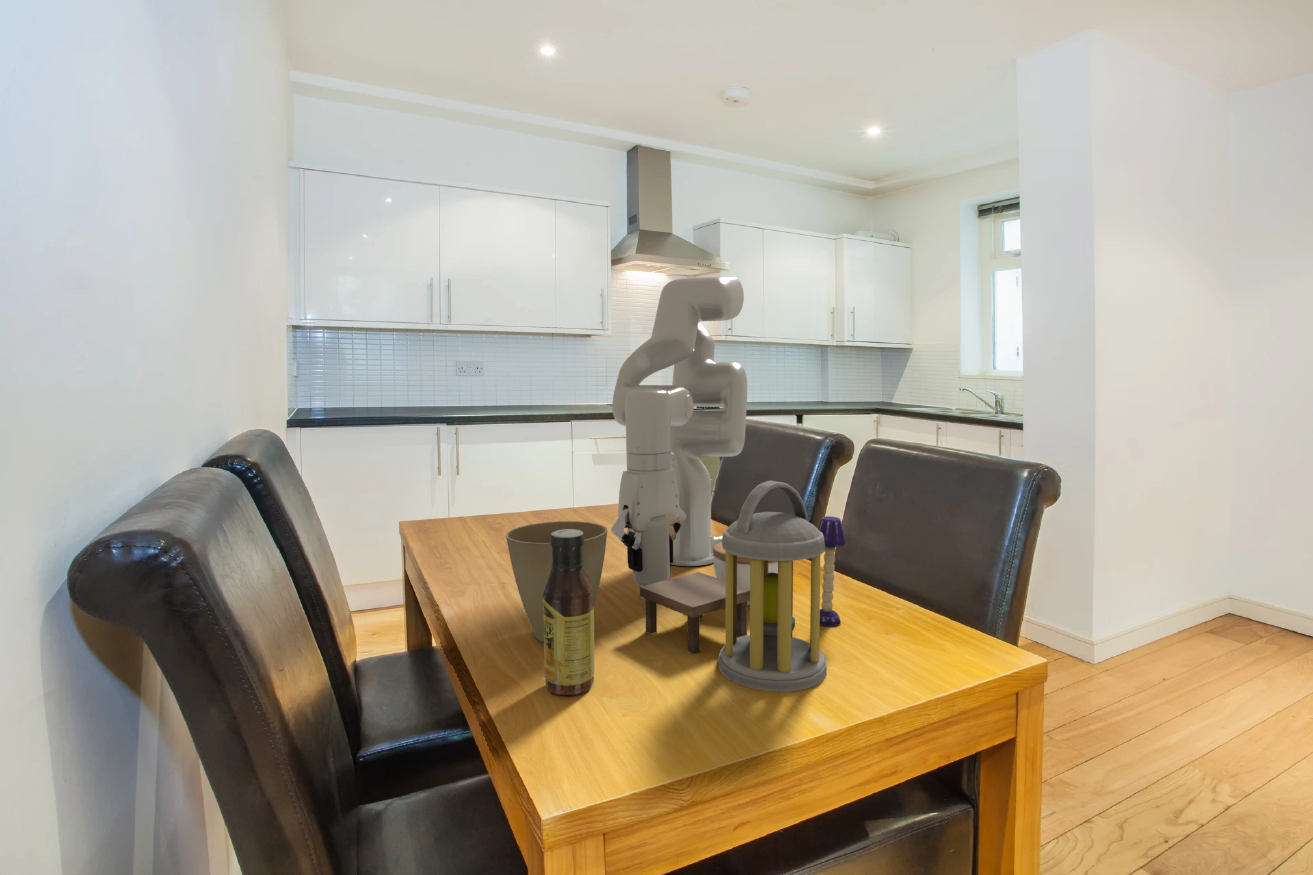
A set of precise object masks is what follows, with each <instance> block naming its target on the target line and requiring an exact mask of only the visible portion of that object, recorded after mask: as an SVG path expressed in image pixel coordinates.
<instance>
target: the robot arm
mask: <svg viewBox="0 0 1313 875" xmlns="http://www.w3.org/2000/svg"><path fill="white" fill-rule="evenodd" d="M659 296H660V297H659V300H658V304H657V310H656V314H655V319H654V323H653V327H652V331H651V332H652V333H651V337H650V338H649V339H648V340H646V341H645V342H643V343H642V344H641V345H640V346H639V347H637V348H636V349H635V350H634V351H633V352H632V353H631V354H630V355H629V356H628V357H627V358H626V359H625V361H624V362H623V364H622V365H621V367H620V369H619V371H618V374H617V379H616V383H615V386H614V391H613V396H612V401H611V402H612V404H611V405H612V415H613V418H614V419H615V421H616V423H618V425H621V426H623V427H625V448H626V449H625V450H626V454H625V455H626V470H624V471H622V474H621V479H620V484H619V492H618V494H619V495H618V509H617V510H618V511H617V516H618V518H617V520H616V521H615V522H614V524H613V525H612V527H611V528H610V531H611V533H612V534H613V535H614V536H616V537H617V538H618V540H619V541H620V542H622V543H623V546H625V547H627V548H626V549H627V557H626V558H627V566H628V569H629V570H632V571H633V570H634V571H637V572H641V571H642V570H643V565H642V549H641V548H639V545H640V542H641V538H642V533H641V532H643V531H645V530H646V527H647V525H648V524H649V523H650V522H651V520H650V519H651V518H656V517H661V516H665V515H666V517H665V518H666V519H667V520H668V521H669V558H670V565H674V566H679V567H680V566H682V567H697V566H706V565H710V564H714V555H713V547H714V545H715V544H717V543H719V542H722V536H723V535H718V536H716V537H715V535H712V505H711V503H712V497H711V496H712V490H711V489H712V480H711V479H712V477H711V475H710V472H709V470H708V468H707V467H706V465H705V464H704V463H703V462H702V460H701V459H700V458H699V457H721V458H722V457H727V458H728V457H730V458H731V457H736V456H738V455H740V454H741V453H742V451H743V449H744V446H745V440H746V428H747V426H746V425H747V424H746V423H747V404H748V377H747V373H746V371H745V368H744V367H743V366H742V365H741V364H740V363H738V362H735V361H715V349H716V348H715V347H716V346H715V345H716V344H715V340H714V338H713V337H712V335H711V334H710V333H709V331H708V330H707V329H706V328H705V327H704V326H703V325H702V324H701V323H700V322H721V321H724V322H725V321H730V320H732V319H735V318H737V317H738V316H739V315H740V313H741V311H742V309H743V307H744V301H745V300H744V298H745V296H744V288H743V285H742V283H741V281H740V280H739V279H738V278H737V277H735V276H709V277H689V278H688V277H687V278H685V277H684V278H678V279H677V278H676V279H673V280H671V281H669V282H667V283H666V284H665V285H664V286H663V288H662V290H661V291H660V295H659ZM670 367H673V372H672V373H673V374H672V385H671V384H668V385H667V384H666V385H663V384H661V385H658V384H653V385H652V384H643V385H642V384H641V383H642V382H643V381H644V380H645V379H647V378H648V377H650V376H651V375H653V374H655V373H658V372H659V371H663V370H665V369H667V368H670ZM640 384H641V385H640ZM694 407H695V408H696V407H698V408H700V407H701V408H702V407H705V408H707V407H708V408H709V407H710V408H712V407H713V408H723V410H704V409H702V410H700V409H699V410H698V409H697V410H696V409H694ZM625 529H627V530H626V531H625ZM633 532H634V533H635V535H634V539H633Z"/></svg>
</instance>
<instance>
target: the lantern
mask: <svg viewBox="0 0 1313 875" xmlns="http://www.w3.org/2000/svg"><path fill="white" fill-rule="evenodd" d="M777 488H779V489H780V490H782V492H784V493H785V495H786V496H787V498H788V499H789V501H790V503H791V505H792V510H793V514H791V513H787V512H779V511H778V512H776V511H763V512H755V511H756V509H757V508H758V505H759V504H760V501H761V499H763V497H765V496H766V494H768V492H769V491H771V490H774V489H777ZM805 505H806V504H805V502H804V500H803V498H802V497H801V495H800V494H799V492H798V491H797V490H796V489H795V488H794V487H792V486H791V485H790V484H788V483H786V482H781V481H775V480H766V481H765V482H761V483H759V484H758V485H756V486H755V487H754V489H752V491H751V492H750V493H749V494H748V496H747V497H746V499H745V500H744V502H743V504H742V507H741V508H740V513H739V515H738V519H737V520H735V521H734V522H731V524H730V525H729V526H728V528H725V530H724V531H723V534H722V535H721V536H722V547H723V549H724V550H725V551H726V608H725V644H724V645H723V646H722V648H721V649H720V651H719V654H718V668H719V670H720V672H721V675H723V676H725V677H726V678H727V679H728V680H729V681H731V682H734V683H735V684H738V685H740V686H742V687H744V688H745V687H746V688H750V689H754V690H758V691H765V692H776V693H780V692H781V693H783V692H798V691H801V690H806V689H810V688H813V687H814V686H817V685H818V684H820V683H822V682H823V681H824V679H826V677H827V675H828V674H827V671H828V670H827V668H828V667H827V666H828V665H827V657H826V656H825V655H824V653H822V651H821V650H820V626H821V625H820V609H821V608H820V607H821V606H820V605H821V555H822V554H823V553H824V554H825V541H824V536H823V533H822V532H820V531H819V530H818V527H816V525H814V524H813V523H811V522H809V519H808V513H807V509H806V507H805ZM737 556H741V557H744V558H750V605H749V634H747V635H746V636H742V637H740V636H738V635H737ZM808 559H810V614H809V616H810V624H809V626H810V630H809V634H810V635H809V642H808V641H807V640H803V639H800V638H798V637H795V636H793V631H794V629H795V627H796V618H795V617H794V615H793V614H794V611H793V610H794V608H793V607H794V606H793V605H794V602H793V601H794V561H800V560H808ZM768 560H770V561H778V574H777V573H768Z"/></svg>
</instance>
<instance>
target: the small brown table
mask: <svg viewBox="0 0 1313 875" xmlns="http://www.w3.org/2000/svg"><path fill="white" fill-rule="evenodd" d="M639 597H641V598H643V599H644V600H645V606H644V607H645V633H648V634H649V635H652V634H655V633H657V632H658V626H657V625H658V621H657V618H658V616H657V615H658V614H657V612H658V611H657V610H658V608H657V605H660V606H662V607H665V608H667V609H669V610H672V611H675V612H677V613H679V614H682V615H685V616H686V617H687V652H688V653H690V654H692V655H695V654H697V653H700V651H701V650H700V649H701V648H700V646H701V642H700V641H701V640H700V637H701V636H700V635H701V634H700V632H701V631H700V630H701V629H700V624H701V622H700V621H701V620H700V619H703V618H704V616H705V615H708V614H710V613H714V612H716V611H719V610H723V609H726V581H725V580H722V579H718V578H716V576H712V575H708V574H706V573H702V572H700V571H698V572H693V573H689V574H688V573H687V574H685V575H681V576H678V577H672V578H670V579H669V580H665V581H661V582H657V583H653V584H649V585H645V586H641V585H640V586H639ZM749 600H750V589H749V588H746V587H743V586H740V585H737V637H742V636H747V635H748V605H747V601H749Z"/></svg>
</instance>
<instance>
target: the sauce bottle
mask: <svg viewBox="0 0 1313 875" xmlns="http://www.w3.org/2000/svg"><path fill="white" fill-rule="evenodd" d="M550 541H551V542H550V543H551V546H552V569H551V572H550V576H549V579H548V582H547V585H546V587H545V590H544V593H543V631H544V642H543V657H544V658H543V661H544V662H543V663H544V669H543V670H544V672H543V673H544V678H545V684H546V687H547V689H548V690H549V691H550V692H551V693H552V694H553V695H559V696H574V695H576V696H577V695H580V694H584V693H586V692H589V690H590V689H591V688H592V686H593V685H594V680H595V670H596V669H595V604H594V605H593V597H592V595H593V589H592V582H591V580H590V578H589V576H587V574H586V573H585V571H584V569H583V564H584V562H583V551H582V550H583V545H584V533H583V532H582V531H580V530H576V529H563V530H557V531H555V532H552V533H551V540H550Z"/></svg>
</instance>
